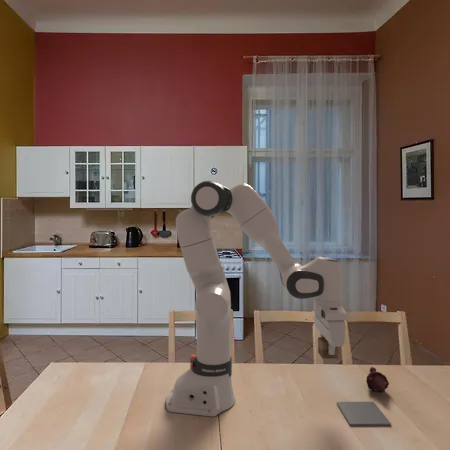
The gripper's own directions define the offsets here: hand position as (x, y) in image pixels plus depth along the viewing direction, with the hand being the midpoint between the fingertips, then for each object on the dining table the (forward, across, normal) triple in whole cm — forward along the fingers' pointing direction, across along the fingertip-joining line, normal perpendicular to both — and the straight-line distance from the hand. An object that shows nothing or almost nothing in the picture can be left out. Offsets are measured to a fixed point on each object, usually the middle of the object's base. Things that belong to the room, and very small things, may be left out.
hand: (327, 350), depth 114 cm
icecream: (+18, -8, +20) cm, 28 cm away
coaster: (+18, +6, +9) cm, 21 cm away
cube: (+2, 0, 0) cm, 2 cm away
